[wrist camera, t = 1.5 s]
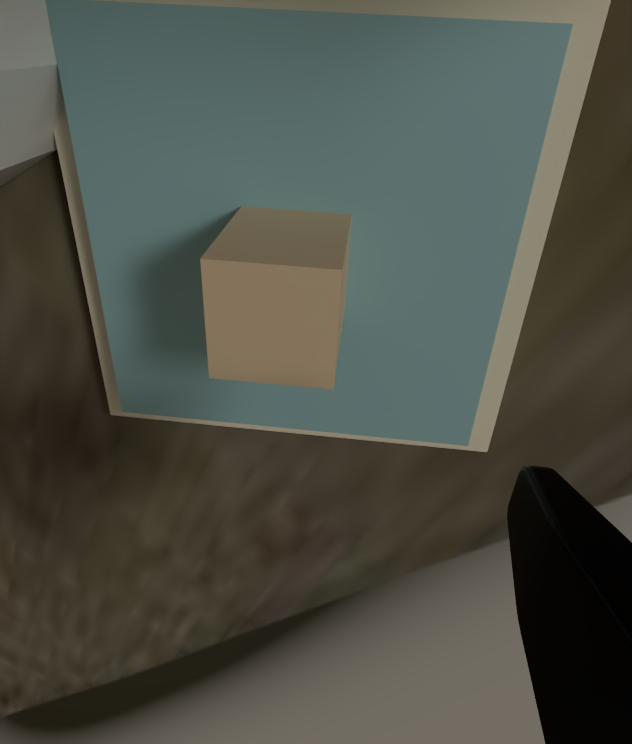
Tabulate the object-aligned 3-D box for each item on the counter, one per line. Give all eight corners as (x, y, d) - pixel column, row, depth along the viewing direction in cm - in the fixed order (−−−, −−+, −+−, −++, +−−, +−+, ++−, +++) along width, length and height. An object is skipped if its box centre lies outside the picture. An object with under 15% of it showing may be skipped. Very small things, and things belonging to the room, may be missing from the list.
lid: (560, 23, 13) (646, 23, 9) (464, 427, 19) (486, 540, 15) (66, -1, 14) (-77, -12, 9) (132, 395, 20) (66, 493, 16)
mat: (606, -25, 13) (618, -28, 12) (483, 438, 20) (487, 452, 20) (35, -49, 14) (16, -53, 13) (119, 402, 21) (110, 414, 21)
